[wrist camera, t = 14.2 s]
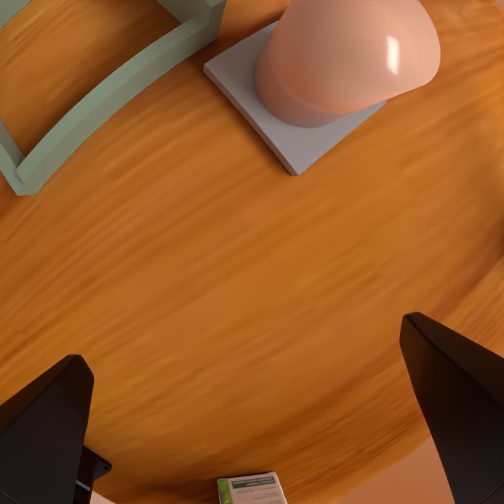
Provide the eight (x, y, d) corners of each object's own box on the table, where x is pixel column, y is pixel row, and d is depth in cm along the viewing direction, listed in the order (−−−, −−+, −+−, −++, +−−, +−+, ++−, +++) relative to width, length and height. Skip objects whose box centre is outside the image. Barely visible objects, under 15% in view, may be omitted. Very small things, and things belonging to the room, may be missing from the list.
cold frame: (35, 195, 16) (-5, 196, 11) (-42, 66, 12) (-74, 49, 7) (216, 39, 17) (226, -1, 12) (104, -57, 13) (95, -92, 8)
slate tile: (292, 176, 20) (298, 175, 18) (202, 71, 17) (204, 64, 16) (377, 106, 20) (386, 102, 19) (301, 14, 17) (307, 6, 16)
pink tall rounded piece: (265, 134, 18) (333, 87, 9) (242, 41, 16) (285, -49, 7) (357, 123, 19) (456, 92, 10) (334, 38, 17) (410, -25, 8)
